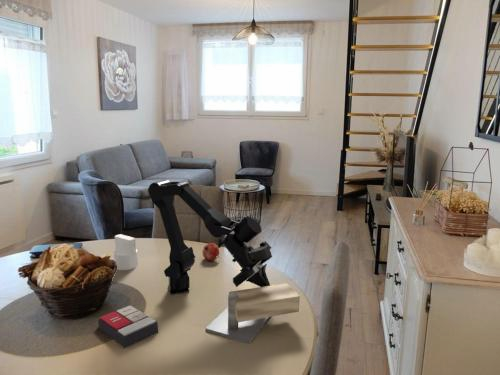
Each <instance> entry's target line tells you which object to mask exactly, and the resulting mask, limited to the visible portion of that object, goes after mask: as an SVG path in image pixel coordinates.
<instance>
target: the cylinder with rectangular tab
mask: <svg viewBox="0 0 500 375" xmlns="http://www.w3.org/2000/svg"><path fill="white" fill-rule="evenodd" d="M136 242H137V241H136V238H135V237H132V236H128V235H127V234H126V235H124V234H121V233H120V234H116V235H114V245H115V246H114V247H115V250H114V251H113V260H114V261H116V262H117V264H118V269H117V270H118V271H130V270H133V269H136V268H137V267H138V266H139V257H138V256H139V255H138V249H137V245H136V244H137V243H136Z"/></svg>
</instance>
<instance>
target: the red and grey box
mask: <svg viewBox="0 0 500 375" xmlns="http://www.w3.org/2000/svg"><path fill="white" fill-rule="evenodd" d="M97 321H98V328H99V329H100V330H101V329H102V330H101V331H103V332H104V333H105V334H106V335H107V336H109V337H110V338H111V339H113V340H115V342H116V343H117V344H119V345H120V346H121V348H123V349H127V348H129V347H131V346H133V345H135V344H138V343H140V342H142V341H144V340H147V339H149V338H151V337H153V336H155V335H156V334H159V324H158V321H157V320H155V319H154V318H152V317H150V316H148V315H147V314H145V313H143V312H142V310H141V311H140V310H139V309H137V308H135V307H134V306H132V305H128V306H125V307H123V308H120V309H117V310H116V311H112V312H110V313H108V314H105V315H102V316H99V318H98V320H97Z"/></svg>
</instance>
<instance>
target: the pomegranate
mask: <svg viewBox="0 0 500 375" xmlns="http://www.w3.org/2000/svg"><path fill="white" fill-rule="evenodd" d="M202 257H204V259H206V260H208V262H209V261H211V262H213V261H215V260H216V259H217V258H220V248H218V245H217V244H216V243H214V242H208V243H207V244H205V245H204V247H203V248H202Z"/></svg>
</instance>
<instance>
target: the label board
mask: <svg viewBox="0 0 500 375" xmlns="http://www.w3.org/2000/svg"><path fill="white" fill-rule="evenodd" d="M270 318H271V317H266V318H260V319H255V320H249V321H244V322H238V329H236V330H230V329H229V328H228V306H227V307H226V309H224V310H223V311H222V312H221V313H219V315H217V316H216V317H215V319H214V320H213V321H212V322H210V323H209V324H208V325H207V326H206V327H205V332H208V333H213V334H216V335H219V336H223V337H226V338H228V339H229V338H230V339H232V340H235V341H239V342H242V343H246V344H251V343H250V342H251V341H253V339H254V338H255V337H256V335H257V334H258V333H259V332H260V330H262V328H263V327H264V325H265V324H266V323H267V321H268V320H269V319H270Z"/></svg>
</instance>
